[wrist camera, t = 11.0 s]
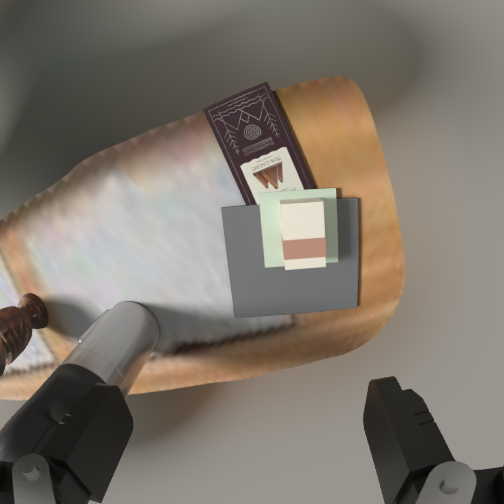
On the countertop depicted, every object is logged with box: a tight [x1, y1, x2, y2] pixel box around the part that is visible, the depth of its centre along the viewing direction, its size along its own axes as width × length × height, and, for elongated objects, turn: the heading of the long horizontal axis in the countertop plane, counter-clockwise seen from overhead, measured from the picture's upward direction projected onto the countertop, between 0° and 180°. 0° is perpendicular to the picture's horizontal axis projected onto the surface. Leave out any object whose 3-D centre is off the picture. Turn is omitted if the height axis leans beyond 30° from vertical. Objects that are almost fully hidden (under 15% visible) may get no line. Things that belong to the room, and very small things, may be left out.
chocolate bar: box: [203, 82, 315, 206], centre depth 39 cm, size 9×1×18 cm
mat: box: [221, 188, 358, 318], centre depth 42 cm, size 18×18×1 cm
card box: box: [279, 197, 326, 270], centre depth 38 cm, size 8×5×4 cm, turn 5°
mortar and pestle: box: [0, 294, 47, 376], centre depth 38 cm, size 12×9×20 cm
